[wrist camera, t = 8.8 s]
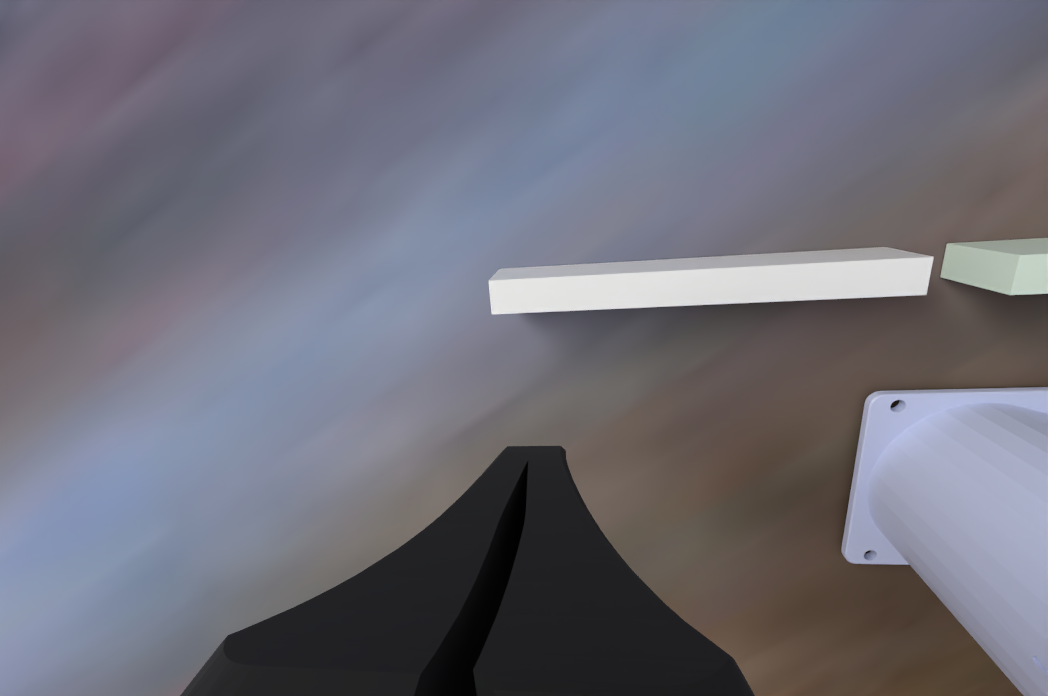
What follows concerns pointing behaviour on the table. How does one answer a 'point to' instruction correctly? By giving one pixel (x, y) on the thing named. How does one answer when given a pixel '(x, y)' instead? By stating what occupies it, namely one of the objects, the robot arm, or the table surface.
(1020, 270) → the sage corral
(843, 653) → the table surface
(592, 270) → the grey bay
